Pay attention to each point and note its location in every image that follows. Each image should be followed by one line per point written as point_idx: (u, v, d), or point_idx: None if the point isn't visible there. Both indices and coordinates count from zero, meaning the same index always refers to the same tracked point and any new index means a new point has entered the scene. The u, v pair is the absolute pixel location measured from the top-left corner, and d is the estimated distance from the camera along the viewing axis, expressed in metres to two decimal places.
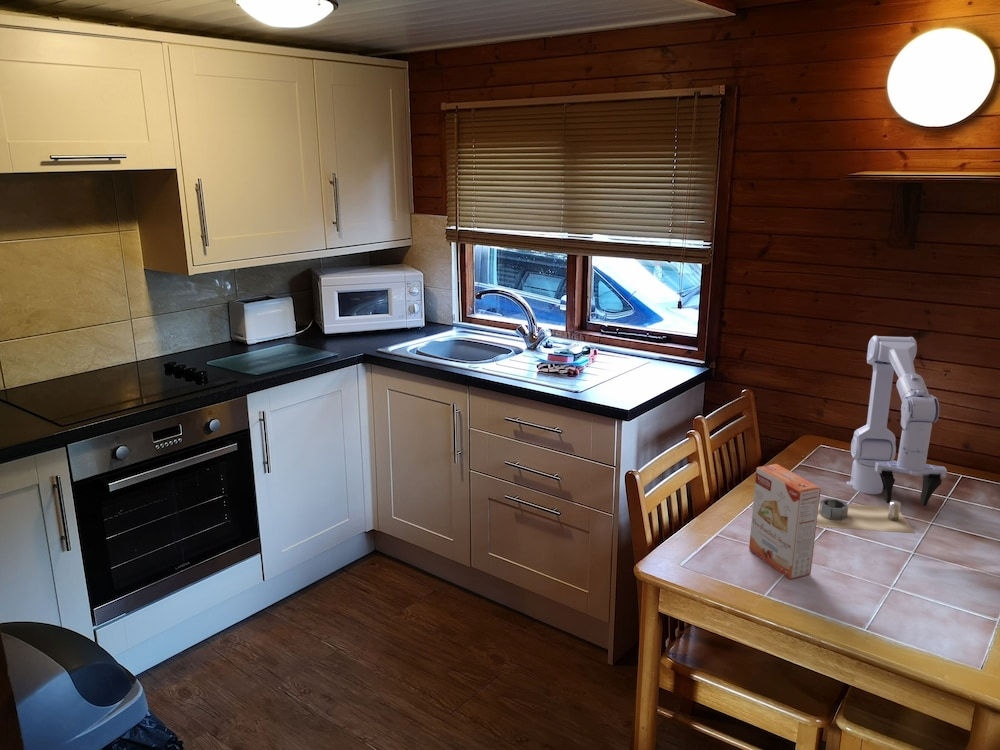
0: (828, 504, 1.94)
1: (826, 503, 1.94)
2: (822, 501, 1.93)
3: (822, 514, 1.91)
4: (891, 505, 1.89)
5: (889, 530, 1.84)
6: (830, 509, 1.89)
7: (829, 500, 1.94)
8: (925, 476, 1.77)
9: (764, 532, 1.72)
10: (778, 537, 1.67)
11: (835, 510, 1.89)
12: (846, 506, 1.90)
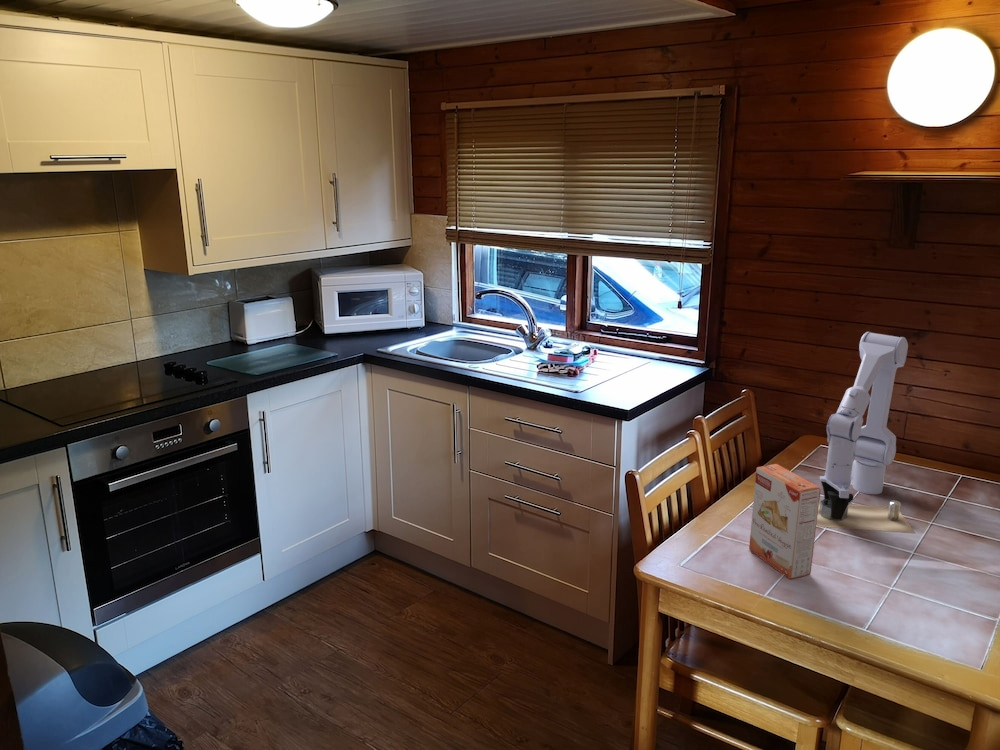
0: (828, 504, 1.94)
1: (826, 503, 1.94)
2: (822, 501, 1.93)
3: (822, 514, 1.91)
4: (891, 505, 1.89)
5: (889, 530, 1.84)
6: (830, 509, 1.89)
7: (829, 500, 1.94)
8: None
9: (764, 532, 1.72)
10: (778, 537, 1.67)
11: None
12: None
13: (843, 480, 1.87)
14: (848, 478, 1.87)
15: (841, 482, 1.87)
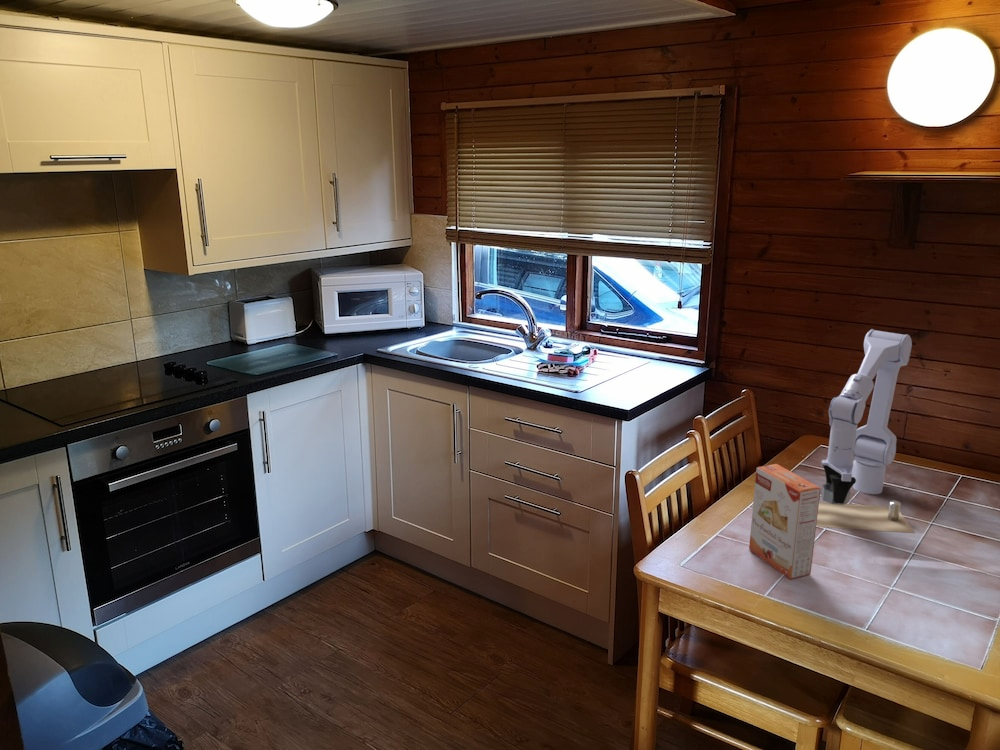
0: (830, 488, 1.93)
1: (828, 487, 1.93)
2: (824, 485, 1.92)
3: (824, 498, 1.90)
4: (891, 505, 1.89)
5: (889, 530, 1.84)
6: (832, 493, 1.88)
7: (831, 484, 1.93)
8: None
9: (764, 532, 1.72)
10: (778, 537, 1.67)
11: None
12: None
13: (845, 464, 1.86)
14: (850, 461, 1.86)
15: (843, 465, 1.86)
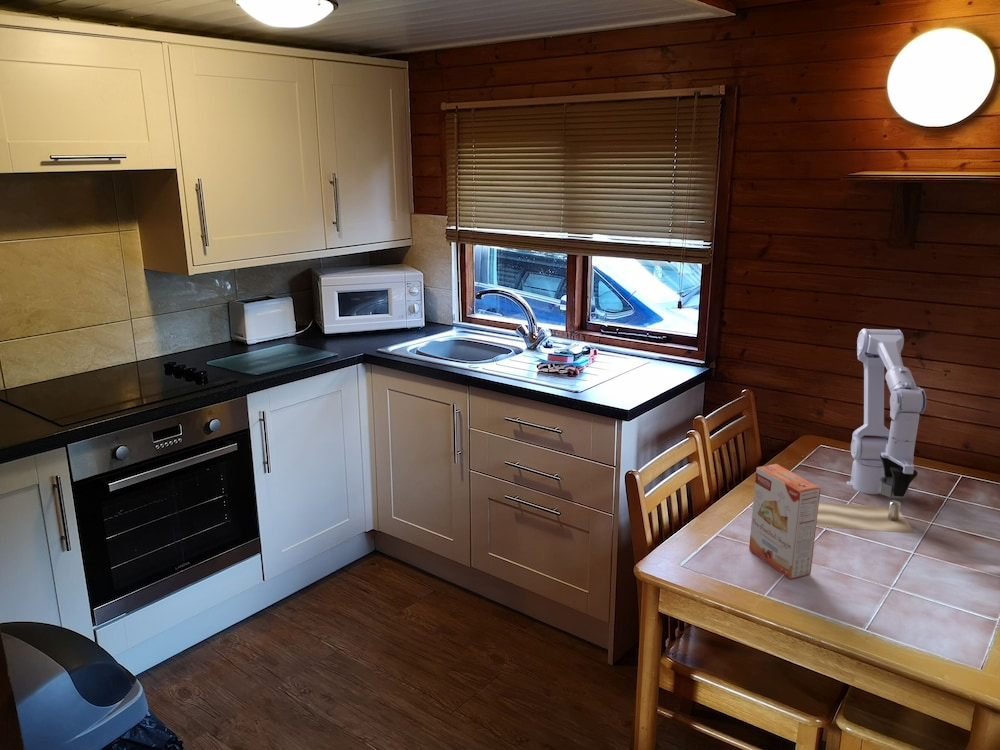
0: (887, 482, 1.90)
1: (885, 481, 1.90)
2: (881, 479, 1.89)
3: (882, 492, 1.87)
4: (891, 505, 1.89)
5: (889, 530, 1.84)
6: (890, 486, 1.85)
7: (888, 478, 1.90)
8: None
9: (764, 532, 1.72)
10: (778, 538, 1.67)
11: None
12: None
13: (906, 456, 1.83)
14: (911, 454, 1.83)
15: (904, 458, 1.83)
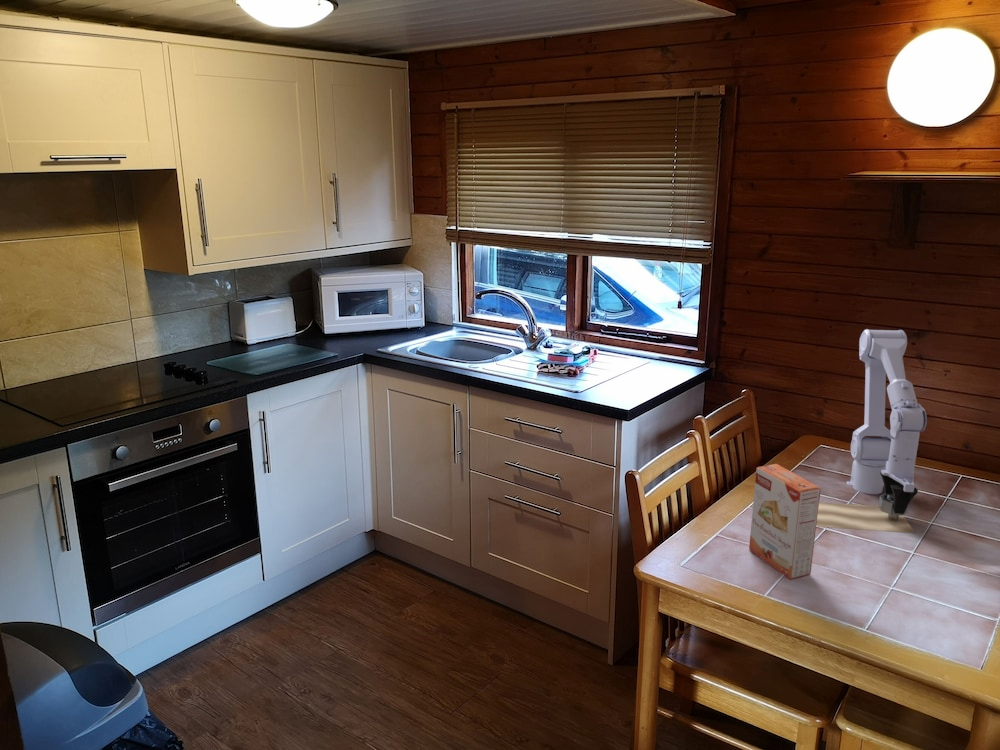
0: (887, 499, 1.91)
1: (885, 498, 1.91)
2: (882, 496, 1.90)
3: (882, 509, 1.89)
4: None
5: (889, 530, 1.84)
6: (891, 504, 1.86)
7: (888, 495, 1.91)
8: None
9: (764, 532, 1.72)
10: (778, 538, 1.67)
11: None
12: None
13: (907, 474, 1.84)
14: (912, 472, 1.84)
15: (905, 476, 1.84)
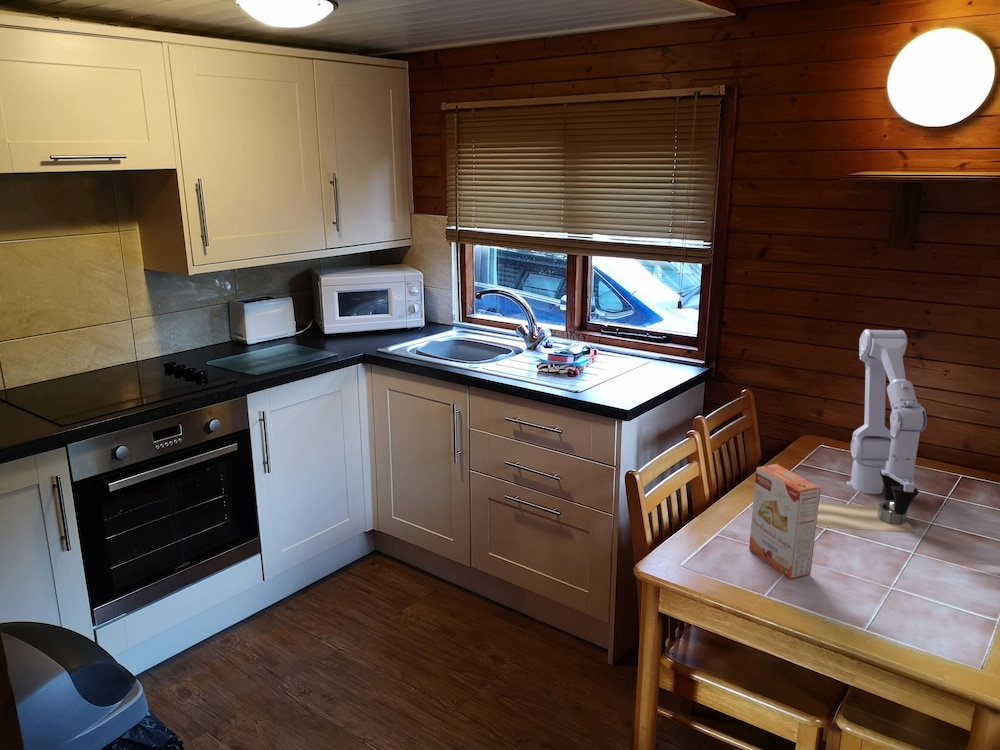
0: (886, 508, 1.92)
1: (884, 507, 1.92)
2: (880, 505, 1.91)
3: (881, 518, 1.89)
4: (891, 505, 1.89)
5: (889, 530, 1.84)
6: (890, 513, 1.87)
7: (887, 504, 1.92)
8: None
9: (764, 532, 1.72)
10: (778, 537, 1.67)
11: (895, 514, 1.87)
12: None
13: (907, 474, 1.84)
14: (912, 472, 1.84)
15: (905, 476, 1.84)
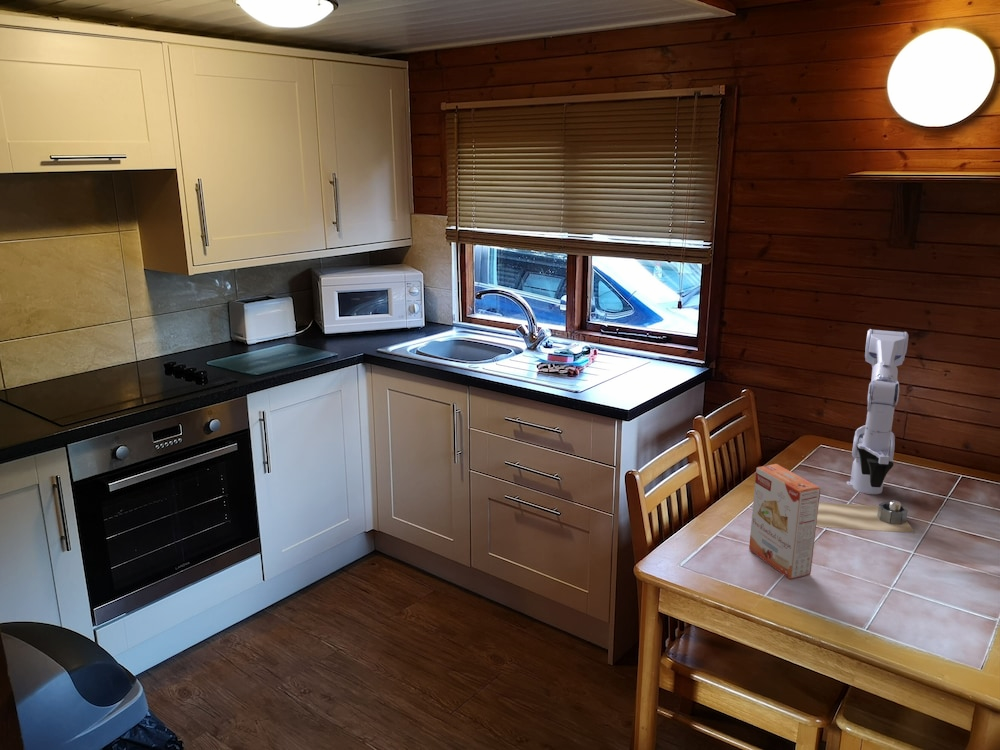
0: (886, 508, 1.92)
1: (884, 507, 1.92)
2: (880, 505, 1.91)
3: (881, 518, 1.89)
4: (891, 505, 1.89)
5: (889, 530, 1.84)
6: (890, 513, 1.87)
7: (887, 504, 1.92)
8: None
9: (764, 532, 1.72)
10: (778, 537, 1.67)
11: (895, 514, 1.87)
12: (906, 510, 1.88)
13: (882, 447, 1.87)
14: (887, 445, 1.87)
15: (880, 449, 1.87)
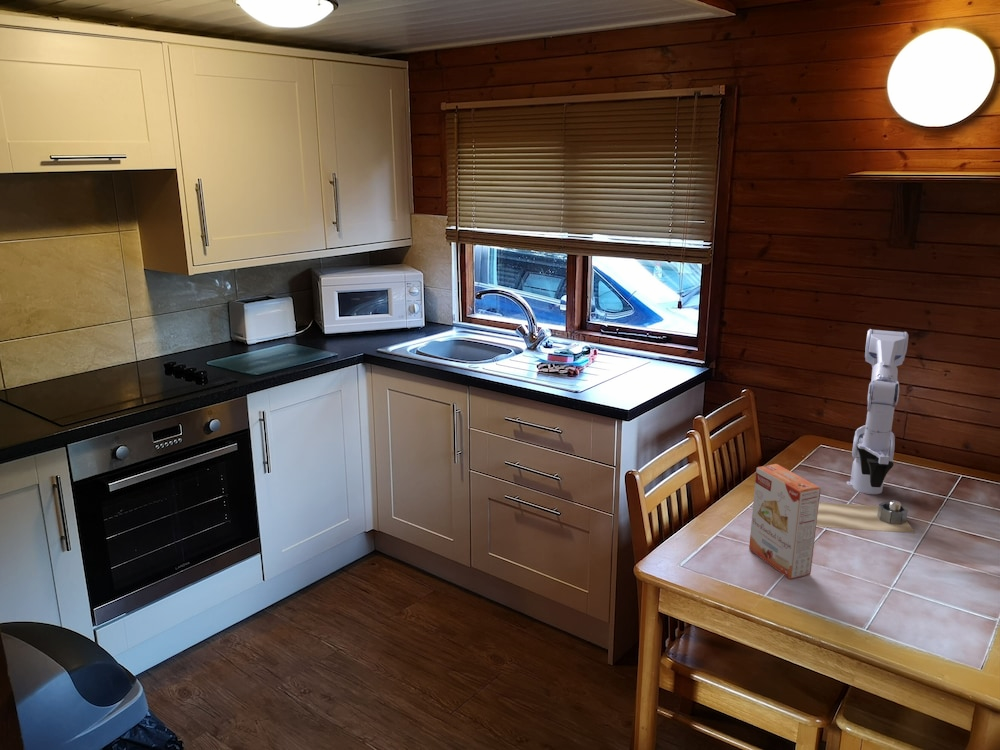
0: (886, 508, 1.92)
1: (884, 507, 1.92)
2: (880, 505, 1.91)
3: (881, 518, 1.89)
4: (891, 505, 1.89)
5: (889, 530, 1.84)
6: (890, 513, 1.87)
7: (887, 504, 1.92)
8: None
9: (764, 532, 1.72)
10: (778, 537, 1.67)
11: (895, 514, 1.87)
12: (906, 510, 1.88)
13: (882, 447, 1.87)
14: (887, 445, 1.87)
15: (880, 449, 1.87)
